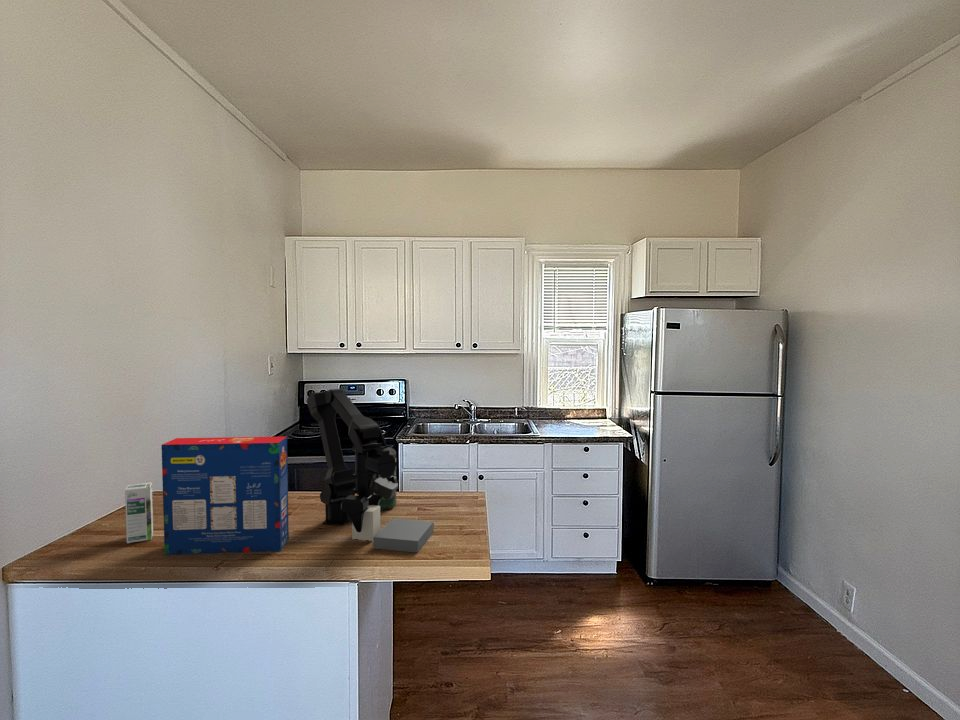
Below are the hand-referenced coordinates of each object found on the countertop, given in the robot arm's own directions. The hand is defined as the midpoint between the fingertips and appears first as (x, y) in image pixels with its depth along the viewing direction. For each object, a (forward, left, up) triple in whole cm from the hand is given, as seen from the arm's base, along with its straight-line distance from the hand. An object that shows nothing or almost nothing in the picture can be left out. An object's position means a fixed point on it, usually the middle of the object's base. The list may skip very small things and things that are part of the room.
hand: (366, 525), depth 144 cm
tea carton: (0, 0, -3) cm, 3 cm away
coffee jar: (-5, +25, -3) cm, 26 cm away
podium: (+11, 0, -3) cm, 11 cm away
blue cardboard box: (-32, -14, -3) cm, 35 cm away
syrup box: (-59, -14, -3) cm, 61 cm away
